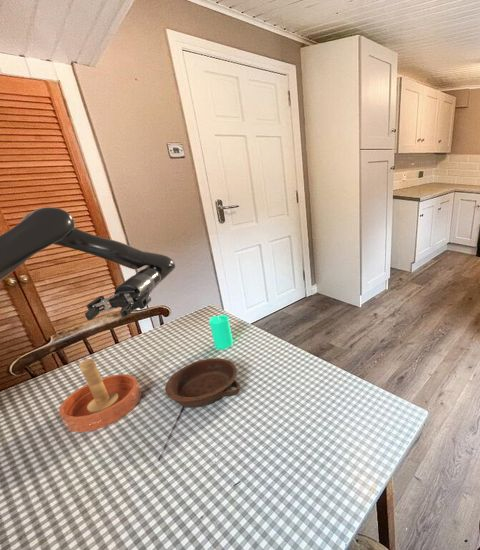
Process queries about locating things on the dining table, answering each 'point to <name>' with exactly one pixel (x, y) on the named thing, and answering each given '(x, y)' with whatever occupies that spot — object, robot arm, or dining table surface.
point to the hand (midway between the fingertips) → (105, 315)
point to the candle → (221, 331)
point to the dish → (203, 382)
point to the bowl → (82, 421)
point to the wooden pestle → (97, 388)
